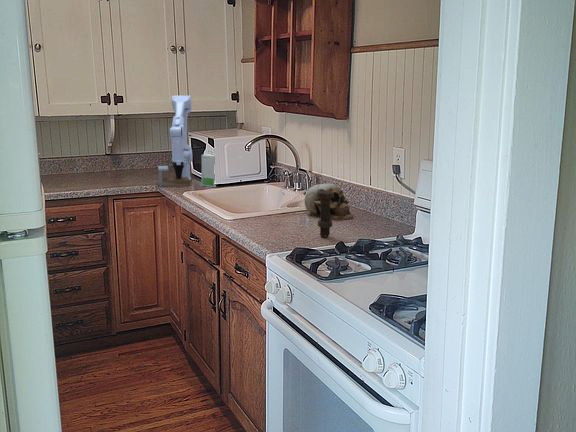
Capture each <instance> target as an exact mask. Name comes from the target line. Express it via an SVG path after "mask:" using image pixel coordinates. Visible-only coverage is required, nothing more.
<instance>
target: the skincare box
mask: <svg viewBox="0 0 576 432" xmlns="http://www.w3.org/2000/svg"><path fill="white" fill-rule="evenodd" d="M211 154H212V153H206V154H201V187H208V188H217V187H216V185H215V184H214V181H215V174H214V165H215V156H214V155H211Z"/></svg>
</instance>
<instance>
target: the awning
mask: <svg viewBox="0 0 576 432" xmlns="http://www.w3.org/2000/svg"><path fill="white" fill-rule="evenodd" d="M157 168H158V169H157V170H158V187H159V188H163V180H162V178H163V172H165V171H167V172H168V171H169V166H168V165H158V166H157Z"/></svg>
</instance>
